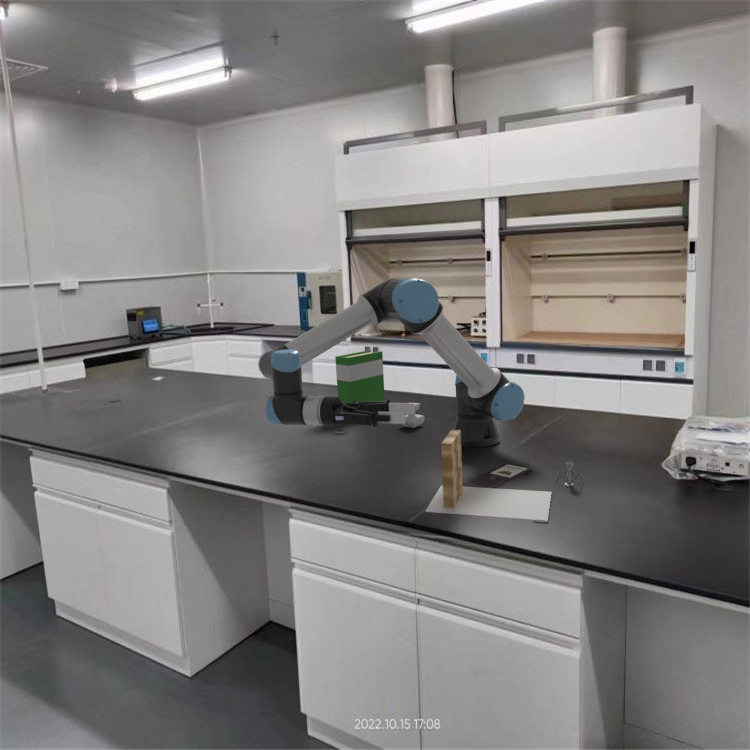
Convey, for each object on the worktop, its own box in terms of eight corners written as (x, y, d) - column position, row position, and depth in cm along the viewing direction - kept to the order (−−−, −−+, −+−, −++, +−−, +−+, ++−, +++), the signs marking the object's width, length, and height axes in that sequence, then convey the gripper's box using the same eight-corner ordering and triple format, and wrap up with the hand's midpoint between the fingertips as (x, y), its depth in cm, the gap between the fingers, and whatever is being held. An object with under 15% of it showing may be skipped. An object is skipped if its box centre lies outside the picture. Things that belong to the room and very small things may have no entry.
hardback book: (372, 408, 261) (369, 350, 257) (385, 411, 256) (382, 351, 251) (339, 417, 249) (335, 356, 245) (352, 420, 244) (348, 357, 239)
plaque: (453, 490, 166) (451, 429, 163) (462, 490, 165) (460, 430, 162) (443, 507, 154) (441, 443, 151) (453, 508, 154) (451, 443, 151)
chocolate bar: (466, 481, 171) (503, 463, 184) (466, 484, 171) (503, 466, 184) (495, 488, 165) (532, 469, 178) (495, 491, 165) (532, 472, 178)
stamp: (411, 422, 236) (410, 400, 235) (427, 424, 232) (426, 401, 231) (397, 428, 229) (396, 405, 228) (412, 430, 225) (411, 407, 224)
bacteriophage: (552, 490, 164) (552, 464, 163) (557, 479, 171) (557, 455, 170) (581, 493, 161) (581, 467, 160) (585, 482, 168) (585, 457, 167)
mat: (441, 487, 170) (441, 485, 170) (551, 493, 161) (551, 491, 161) (425, 513, 153) (425, 511, 153) (547, 522, 144) (547, 520, 144)
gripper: (339, 415, 177) (420, 417, 170) (308, 436, 157) (398, 440, 150) (338, 388, 175) (419, 389, 168) (306, 406, 155) (396, 408, 148)
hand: (409, 413), depth 159 cm, fingers open, 9 cm apart
